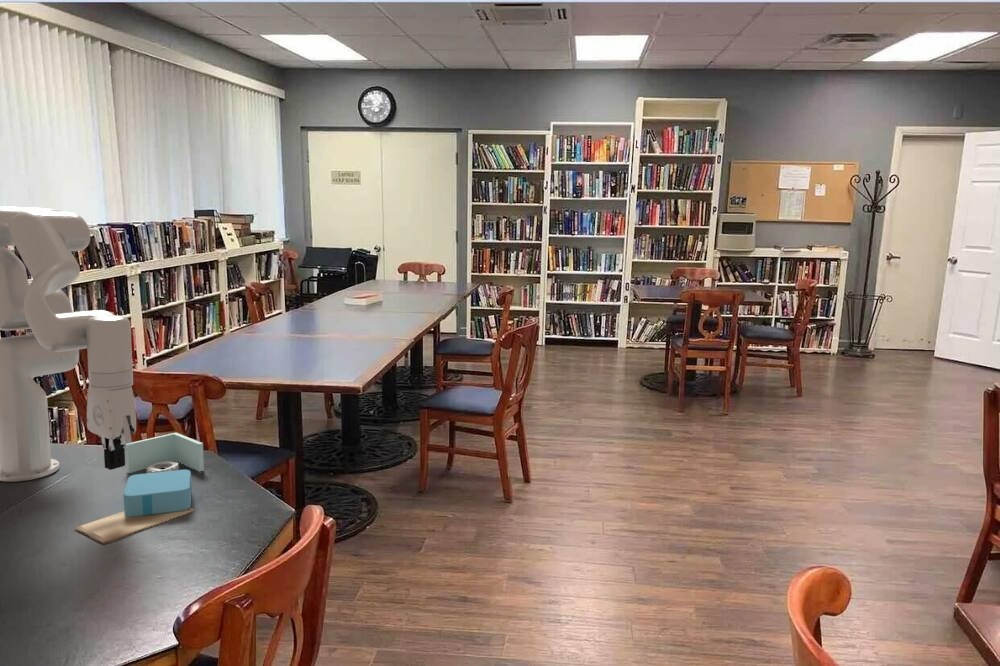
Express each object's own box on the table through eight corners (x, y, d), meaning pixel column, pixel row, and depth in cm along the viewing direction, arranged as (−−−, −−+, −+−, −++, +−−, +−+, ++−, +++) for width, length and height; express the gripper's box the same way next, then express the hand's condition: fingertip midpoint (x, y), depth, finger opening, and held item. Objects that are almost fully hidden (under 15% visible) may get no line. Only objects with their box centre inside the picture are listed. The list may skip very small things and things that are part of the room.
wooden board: (75, 529, 126) (74, 527, 126) (164, 498, 141) (164, 496, 141) (103, 544, 121) (103, 541, 121) (193, 511, 136) (193, 508, 136)
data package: (123, 518, 131) (190, 510, 136) (122, 497, 130) (189, 489, 135) (129, 494, 142) (191, 487, 146) (128, 474, 141) (190, 468, 146)
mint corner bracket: (127, 474, 155) (125, 443, 154) (177, 461, 165) (176, 432, 163) (153, 488, 148) (151, 455, 147) (203, 473, 158) (202, 443, 157)
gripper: (70, 375, 131) (75, 463, 134) (112, 388, 123) (116, 481, 126) (109, 369, 137) (113, 453, 140) (151, 381, 130) (154, 470, 133)
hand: (115, 466), depth 133 cm, fingers closed
